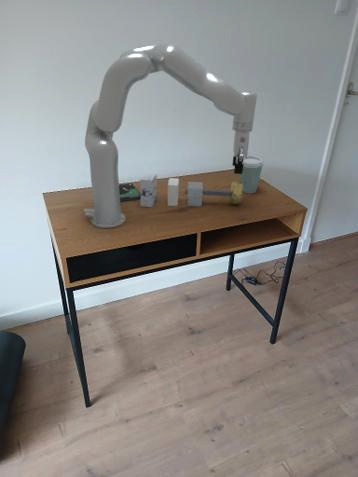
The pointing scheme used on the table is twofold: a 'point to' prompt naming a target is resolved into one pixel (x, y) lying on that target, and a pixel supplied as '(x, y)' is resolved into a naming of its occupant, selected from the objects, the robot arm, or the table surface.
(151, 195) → the ink box
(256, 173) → the disposable coffee cup
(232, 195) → the sliding bolt
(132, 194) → the disk drive
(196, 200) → the block
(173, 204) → the white rectangular block
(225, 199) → the table surface
